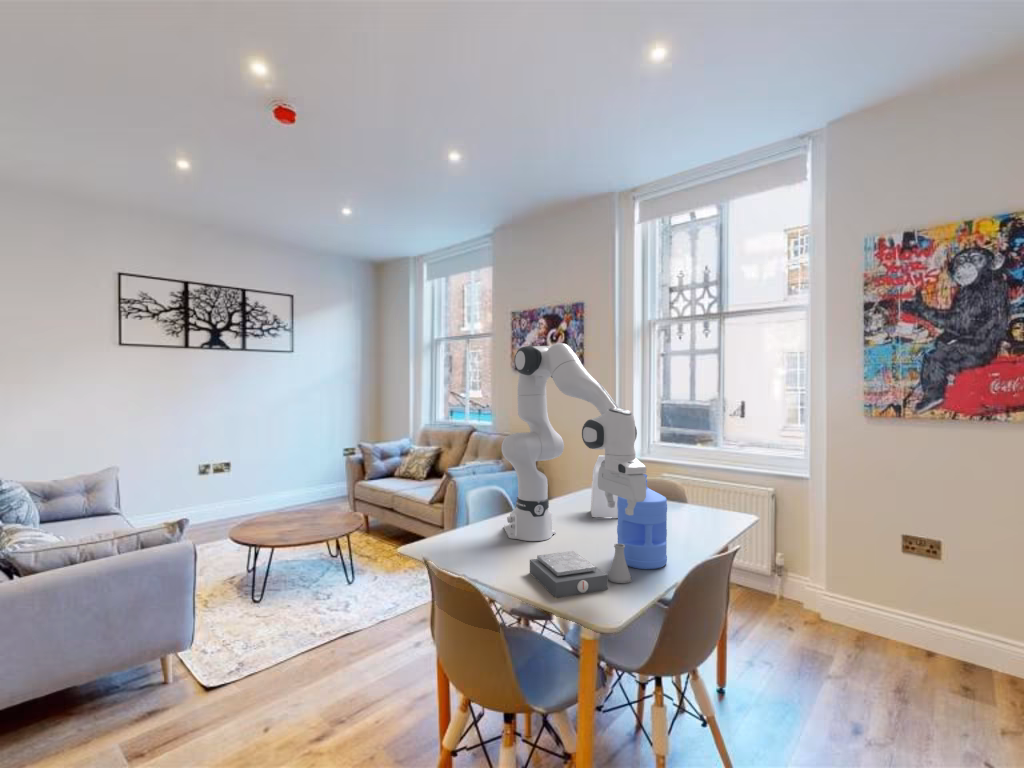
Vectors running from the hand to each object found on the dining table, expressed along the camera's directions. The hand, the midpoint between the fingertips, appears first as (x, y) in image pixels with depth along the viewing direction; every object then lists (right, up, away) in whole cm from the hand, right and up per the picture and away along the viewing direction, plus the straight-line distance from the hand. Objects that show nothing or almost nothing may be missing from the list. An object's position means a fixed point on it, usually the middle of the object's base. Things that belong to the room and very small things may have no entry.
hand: (620, 510), depth 141 cm
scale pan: (-16, -16, 0) cm, 22 cm away
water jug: (+10, -20, +15) cm, 27 cm away
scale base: (-16, -20, -1) cm, 25 cm away
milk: (+9, -21, +71) cm, 75 cm away
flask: (0, -20, 0) cm, 20 cm away
